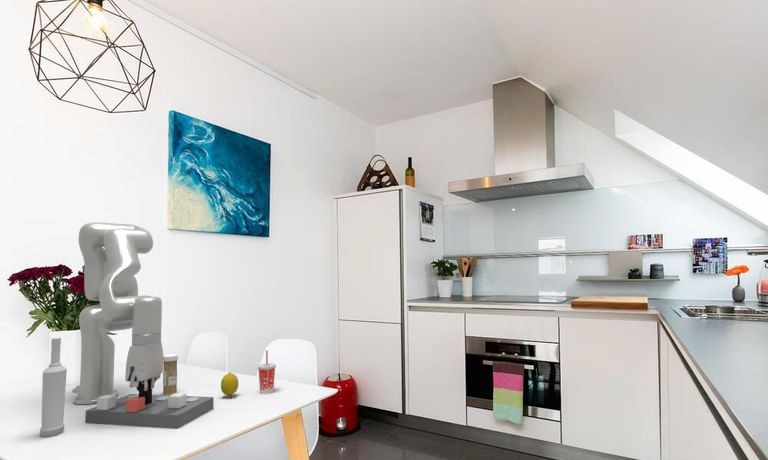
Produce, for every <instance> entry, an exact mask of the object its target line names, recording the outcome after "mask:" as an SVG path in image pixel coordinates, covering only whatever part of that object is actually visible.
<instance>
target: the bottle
mask: <svg viewBox="0 0 768 460" xmlns="http://www.w3.org/2000/svg"><path fill="white" fill-rule="evenodd" d="M61 344H62V337H54V338H51V348H50V349H51V350H50V351H51V352H50V363H49V364H48V367H46V369H44V370H43V371H42V391H41V392H42V394H41V398H42V399H41V427H40V429H39V435H40V437H41V438H50V437H55V436H58V435H60V434H62V433H64V430H65V423H64V415H65V400H66V397H65V396H66V388H67V387H66V384H67V373H68V372H67V370H68V369H67V368H66V367H65V366H63V365H62V362H61Z"/></svg>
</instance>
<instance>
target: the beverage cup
mask: <svg viewBox="0 0 768 460" xmlns="http://www.w3.org/2000/svg"><path fill="white" fill-rule="evenodd" d="M268 353H269V352H268V350H265V356H266V357H265V359H266V360H265V363H261V364H258V365H257V369H258V379H259V380H258V381H259V393H260V394H263V395H264V394H266V395H268V394H271V393H274V392H275V391H274V390H275V378H276V377H275V374H276V373H275V372H276V366H277V365H276V363H273V362H271V363H270V362H269V361H268V359H269V358H268V355H269V354H268ZM268 362H269V363H268Z"/></svg>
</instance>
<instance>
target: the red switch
mask: <svg viewBox="0 0 768 460" xmlns="http://www.w3.org/2000/svg"><path fill="white" fill-rule="evenodd" d="M142 409H145V397H135V396H134V397H132V398H129V399H127V400H126V412H138V411H140V410H142Z"/></svg>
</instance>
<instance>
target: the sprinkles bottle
mask: <svg viewBox="0 0 768 460" xmlns="http://www.w3.org/2000/svg"><path fill="white" fill-rule="evenodd" d="M178 359H179V356H178V354H176V353H169V354H165V355H164V354H163V372H162V377H163V378H162V395H172V394H175V393H178V391H177V388H178V387H177V385H178Z"/></svg>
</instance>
